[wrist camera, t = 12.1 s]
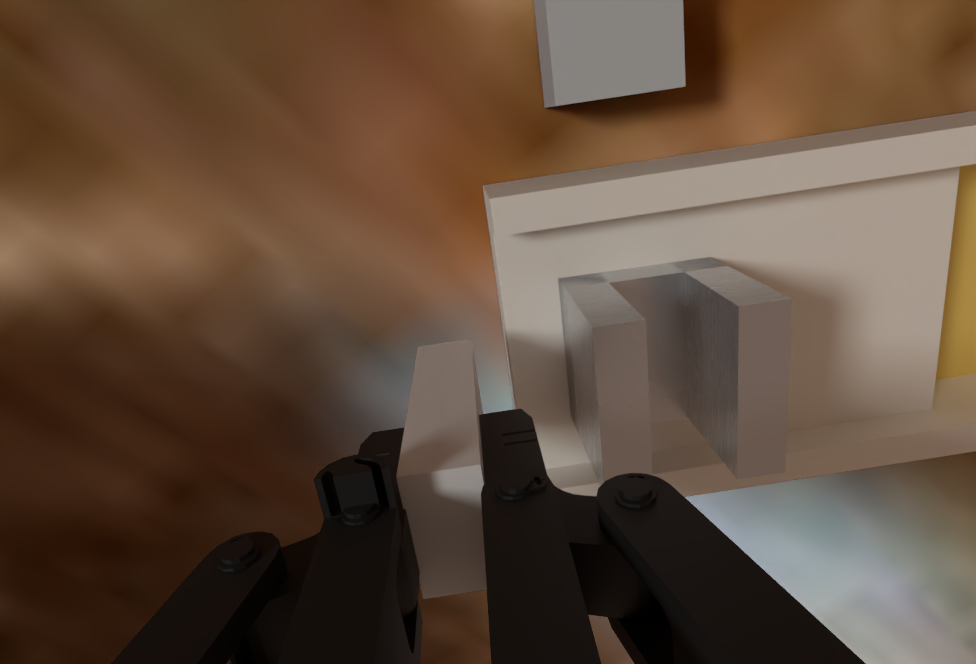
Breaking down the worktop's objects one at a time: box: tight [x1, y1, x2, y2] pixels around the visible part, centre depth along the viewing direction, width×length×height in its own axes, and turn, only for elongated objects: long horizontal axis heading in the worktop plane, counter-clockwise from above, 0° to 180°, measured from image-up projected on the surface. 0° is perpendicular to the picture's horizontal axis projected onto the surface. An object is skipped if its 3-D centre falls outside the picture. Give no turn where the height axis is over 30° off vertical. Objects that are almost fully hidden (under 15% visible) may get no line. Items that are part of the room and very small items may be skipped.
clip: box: [558, 257, 792, 486], centre depth 16 cm, size 4×4×4 cm
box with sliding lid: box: [483, 111, 976, 497], centre depth 19 cm, size 22×10×4 cm, turn 98°
